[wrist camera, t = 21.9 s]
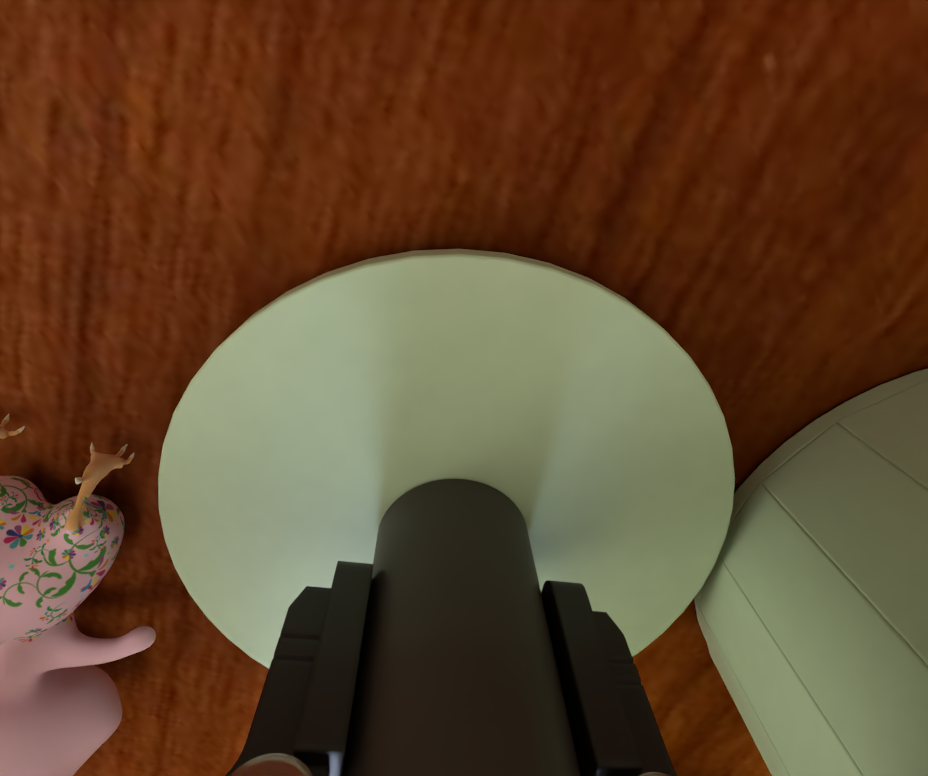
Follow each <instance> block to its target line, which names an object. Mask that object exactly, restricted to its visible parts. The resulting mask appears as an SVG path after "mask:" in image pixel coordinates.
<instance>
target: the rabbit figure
mask: <svg viewBox="0 0 928 776" xmlns="http://www.w3.org/2000/svg"><path fill="white" fill-rule="evenodd" d="M9 419H10V418H9V414H8V415H7V416H6V417H5V418H4V419H3V421H2V423H1V425H0V439H5V438H7V437H8V436H14V435H18V434H20V433H21V432H22V431H23V430H24V428H25V426H23V427H22V428H19V429H17V430H15V431H7V430H5V429H4V428H5V425H6V424H7V423H8V422H9ZM127 445H128V444H126V445H125V446H123V447H122V448H121V449H120V450H119V452H118V453H117V454H116V455H112V454H110V455H109V454H102V453H100V452H96V451H95V448H94V446H93V444H92V443H91V446H90V452H91V454H92V456H91V462H90V463H89V465H87V466H86V469H85V471H84V473H83V476H82V478H81V477H77V478H75V483H76V484H80V483H82V485H81V488H80V491H79V494H78V496H74V497H71V498H68V499H66V500H64V501H62V502H60V503H58V504H56V505H54V504H51V503H49V502H48V501H47V500H46V499H45V498H44V496H43V494H42V493H41V491H40V490H39V489H38V487H37V486H36V485H35V484H33V483H32V482H31V481H29V480H27V479H25V478H22V477H19V476H14V475H0V776H73V775H74V774H75V773H76V772H77V770H78V769H79V768H80V767H81V766H82V765H83V764H84V763H85V762H86V761H87V760H88V759H89V757H90V756H91V755H92V754H93V753H94V752H95V751H96V750H97V749H98V748H99V747H100V746H101V745H102V744H103V743H104V742H105V741H106V740H107V739H108V738H109V737H110V736H111V735H112V734H113V733H114V732H115V730H116V729H117V728H118V726H119V724H120V722H121V719H122V705H121V700H120V697H119V694H118V691H117V689H116V686H115V684H114V682H113V681H112V679H111V678H110V677H109V675H108V674H107V673H106V672H105V671H103V670H102V669H100V668H98V667H96V666H94V665H95V664H102V663H107V662H111V661H115V660H118V659H121V658H124V657H127V656H129V655H132V654H135V653H137V652H140V651H143V650H145V649H146V648H148V647H150V646H151V645H152V644H153V643H154V641H155V638H156V632H155V630H154V629H153V628H151V627H148V626H141V627H137V628H135V629H134V630H132V631H130V632H129V633H127V634H126V635H124V636H122V637H118V638H112V639H101V638H93V637H89V636H86V635H84V634H82V633H81V632H80V631H79V630H78V628H77V626H76V622H75V617H74V610H75V609H76V608H77V607H78V606H79V605H80V604H81V603H82V602H83V601H84V600H85V599H86V598H87V597H88V596H89V595H90V594H91V592H92V591H93V590H94V589H95V588H96V587H97V586H98V584H99V583H100V582H101V580H102V579H103V578H104V576H105V575H106V573H107V572H108V570H109V569H110V567H111V565H112V564H113V562H114V560H115V558H116V555H117V553H118V551H119V548H120V545H121V542H122V539H123V535H124V529H125V524H124V517H123V515H122V513H121V511H120V509H119V508H118V507H117V506H116V504H115V503H113V502H112V501H111V500H109V499H107V498H105V497H103V496H99V495H92V492H93V490H94V489H95V487H96V485H97V484H98V483H99V482H100V480H102V479H103V478H104V477H105V476H106V475H107V474H108V473H109V472H110V471H111V470H113V469H115V468H119V469H120V468H122V467H123V465H126V464H129V463H130V462H131V460H132V459H133V458H134V453H133V454H132V455H131V456H130V457H129V458H128V459H127V460H124V459H123V458H121V457H120V456H121V455H122V454H123V453H124V452H125V450H126V447H127Z"/></svg>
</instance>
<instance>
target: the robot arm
mask: <svg viewBox="0 0 928 776" xmlns="http://www.w3.org/2000/svg"><path fill="white" fill-rule="evenodd" d="M373 565H374V564H368V563H357V562H346V561H338V562H337V566H336V570H335V574H334V578H333V582H332V587H331V588H323V587H311V586H306V587H305V589H304V590H303V591H302V592H301V593H300V594H299V596H298V597H297V598H296V599H295V600H294V601H293V603H292V604H291V605H290V606H289V608H288V611H287V614H286V617H285V621H284V624H283V627H282V630H281V635H280V637H279V640H278V643H277V646H276V649H275V652H274V657H273V659H272V662H271V665H270V668H269V671H268V674H267V678H266V681H265V684H264V687H263V690H262V693H261V697H260V700H259V703H258V706H257V709H256V712H255V715H254V719H253V722H252V725H251V728H250V731H249V734H248V738H247V741H246V744H245V746H244V749H243V751H242V753H241V755H240V757H239V759H238V760H237V762H236V763H235V765H234V766H233V768H232V769H231V770H230V771H229V772H228V773H227V775H226V776H343V769H344V763H345V756H346V749H347V743H348V736H349V729H350V723H351V716H352V709H353V703H354V696H355V689H356V682H357V676H358V669H359V662H360V656H361V649H362V642H363V636H364V629H365V622H366V616H367V609H368V602H369V595H370V589H371V582H372V574H373ZM541 595H542V599H543V604H544V608H545V613H546V617H547V622H548V627H549V631H550V636H551V640H552V645H553V649H554V654H555V658H556V663H557V668H558V672H559V677H560V681H561V686H562V690H563V695H564V699H565V704H566V709H567V713H568V718H569V722H570V727H571V731H572V736H573V740H574V745H575V750H576V754H577V759H578V763H579V768H580V772H581V776H677V775H676V773H675V771H674V768H673V766H672V764H671V761H670V758H669V755H668V753H667V750H666V747H665V745H664V742H663V739H662V736H661V734H660V731H659V728H658V726H657V723H656V720H655V717H654V715H653V712H652V709H651V707H650V704H649V701H648V699H647V696H646V693H645V690H644V688H643V686H641V683H640V681H641V680H640V677H639V674H638V671H637V669H636V666H635V664H633V658H632V655H631V652H630V650H629V647H628V644H627V642H626V639H625V636H624V634H623V633H622V631H621V630H620V629H619V628H618V626H617V625H616V624H615V623H614V621H613V620H612V619H611V617H610V616H609V615H608V614H607V612H599V611H592V608H591V604H590V601H589V598H588V595H587V592H586V589H585V587H584V586H583V584H581V583H572V582H561V581H550V580H547V581H546V582H545V583H544V585H543V588H542V591H541Z"/></svg>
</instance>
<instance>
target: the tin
mask: <svg viewBox="0 0 928 776" xmlns="http://www.w3.org/2000/svg"><path fill="white" fill-rule="evenodd" d="M694 601H695V608H696V614H697V620H698V622H699V625H700V628H701V631H702V633H703V636H704V638H705V640H706V642H707V645H708V649H709V653H710V656H711V658H712V660H713V662H714V664H715V666H716V668H717V670H718V672H719V673H720V675H721V677H722V679H723V681H724V683H725V685H726V687H727V689H728V691H729V693H730V695H731V697H732V699H733V701H734V703H735V705H736V707H737V709H738V711H739V713H740V715H741V716H742V718H743V720H744V722H745V724H746V726H747V728H748V730H749V732H750V734H751V736H752V738H753V740H754V742H755V744H756V746H757V748H758V750H759V752H760V754H761V756H762V758H763V759H764V761H765V763H766V765H767V767H768V769H769V771H770V773H771V775H772V776H928V369H924V370H920V371H916V372H913V373H911V374H908V375H905V376H903V377H900V378H897V379H895V380H892V381H889V382H887V383H884V384H881V385H879V386H877V387H875V388H873V389H871V390H869V391H867V392H864V393H862V394H860V395H858V396H856V397H854V398H852V399H850V400H848V401H846V402H844V403H842V404H841V405H839V406H838V407H836V408H834V409H833V410H831V411H829V412H828V413H826V414H824V415H823V416H821V417H819V418H818V419H816V420H814V421H813V422H811V423H810V424H809V425H807V426H806V427H805V428H803V429H802V430H801V431H799V432H798V433H797V434H795V435H794V436H792V437H791V438H790V439H788V440H787V441H786V442H784V443H783V444H782V445H781V446H780V447H779V448H778V449H777V450H775V451H774V452H773V453H772V454H771V455H770V456H769V457H768V458H767V459H765V460H764V461H763V462H762V463H761V464H760V465H759V466H758V467H757V468H756V469H755V470H754V471H753V473H752V474H751V475H750V476H749V477H748V478H747V479H746V480H745V481H744V482H743V484H742V485H741V486H740V487H739V488H738V489H737V491H736V492H735V493H734V499H733V510H732V514H731V518H730V522H729V527H728V531H727V535H726V538H725V541H724V543H723V546H722V548H721V551H720V553H719V556H718V558H717V561H716V563H715V565H714V567H713V569H712V570H711V572H710V574H709V576H708V577H707V579H706V581H705V583H704V584H703V586H702V588H701V589H700V591H699V592H698V593H697V595H696V596H695V597H694Z"/></svg>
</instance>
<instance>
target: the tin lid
mask: <svg viewBox="0 0 928 776" xmlns="http://www.w3.org/2000/svg"><path fill="white" fill-rule="evenodd" d="M734 486H735V473H734V462H733V451H732V445H731V441H730V437H729V433H728V430H727V426H726V422H725V418H724V415H723V413H722V411H721V409H720V406H719V404H718V402H717V400H716V398H715V395H714V393H713V391H712V389H711V387H710V385H709V383H708V382H707V380H706V379H705V378H704V376H703V375H702V373H701V372H700V370H699V369H698V367H697V366H696V364H695V363H694V361H693V360H692V358H691V357H690V356H689V355H688V354H687V352H686V351H685V350H684V349H683V348H682V347H681V346H680V345H679V344H678V343H677V342H676V341H675V340H674V339H673V338H672V337H671V336H670V335H669V334H668V333H667V331H666V330H665V329H664V328H663V327H661V326H660V325H659V324H658V323H657V322H656V321H654V320H653V319H652V318H650V317H649V316H648V315H647V314H645V313H644V312H643V311H641V310H640V309H639V308H637V307H636V306H635V305H634V304H632V303H631V302H630V301H628V300H627V299H626V298H624V297H622V296H621V295H619V294H617V293H615V292H613V291H612V290H610V289H608V288H606V287H604V286H603V285H601V284H599V283H597V282H595V281H594V280H592V279H590V278H588V277H585V276H583V275H580V274H577V273H575V272H572V271H569V270H567V269H564V268H561V267H559V266H556V265H554V264H551V263H548V262H544V261H539V260H535V259H531V258H526V257H522V256H517V255H513V254H509V253H503V252H492V251H481V250H470V249H439V250H416V251H409V252H403V253H398V254H392V255H386V256H381V257H375V258H370V259H366V260H363V261H360V262H357V263H354V264H351V265H347V266H344V267H341V268H338V269H335V270H332V271H329V272H326V273H324V274H322V275H320V276H318V277H316V278H313V279H311V280H309V281H307V282H305V283H303V284H301V285H299V286H297V287H295V288H293V289H291V290H289V291H287V292H285V293H284V294H282V295H281V296H279V297H278V298H276V299H275V300H273V301H272V302H270V303H269V304H268V305H266V306H265V307H263V308H262V309H260V310H259V311H257V312H256V313H254V314H253V315H252V316H251V317H249V318H248V319H247V320H246V321H245V322H244V323H243V324H242V325H241V326H240V327H239V328H238V329H236V330H235V331H234V332H233V333H232V334H231V335H230V336H229V337H228V338H227V339H226V340H225V341H224V342H222V343H221V344H220V345H219V346H218V347H217V348H216V349H215V350H214V352H213V353H212V354H211V355H210V357H209V358H208V359H207V361H206V362H205V363H204V364H203V366H202V367H201V368H200V369H199V371H198V372H197V373H196V375H195V376H194V377H193V378H192V380H191V381H190V383H189V385H188V387H187V389H186V391H185V392H184V394H183V396H182V398H181V400H180V402H179V403H178V405H177V407H176V409H175V411H174V413H173V416H172V419H171V422H170V425H169V428H168V431H167V434H166V437H165V440H164V443H163V447H162V454H161V461H160V467H159V474H158V503H159V514H160V519H161V524H162V529H163V535H164V540H165V542H166V545H167V548H168V551H169V553H170V556H171V559H172V561H173V564H174V567H175V569H176V571H177V573H178V574H179V576H180V578H181V580H182V582H183V583H184V585H185V587H186V589H187V591H188V592H189V594H190V596H191V597H192V598H193V600H194V601H195V602H196V604H197V605H198V606H199V608H200V609H201V610H202V611H203V613H204V614H205V615H206V617H207V618H208V619H209V620H210V621H211V622H212V623H213V624H214V625H215V626H216V627H217V628H218V629H219V630H220V631H221V632H222V633H223V634H224V635H225V636H226V637H227V638H228V639H229V640H230V641H231V642H232V643H234V644H235V645H236V646H237V647H239V648H240V649H241V650H242V651H244V652H245V653H246V654H247V655H249V656H250V657H251V658H253V659H254V660H256V661H257V662H259V663H261V664H262V665H264V666H265V667H267V668H268V669H269V668H270V665H271V662H272V659H273V657H274V652H275V649H276V646H277V643H278V640H279V637H280V635H281V630H282V627H283V624H284V621H285V617H286V614H287V611H288V608H289V606H290V605H291V604H292V603H293V601H294V600H295V599H296V598H297V597H298V596H299V594H300V593H301V592H302V591H303V590H304V589H305V587H306V586H311V587H323V588H331V587H332V582H333V578H334V574H335V570H336V566H337V562H338V561H346V562H357V563H368V564H374V565H373V574H372V582H371V589H370V595H369V602H368V609H367V616H366V622H365V629H364V636H363V642H362V649H361V656H360V662H359V669H358V676H357V682H356V689H355V696H354V703H353V709H352V716H351V723H350V729H349V736H348V743H347V749H346V756H345V763H344V769H343V776H581V772H580V768H579V763H578V759H577V754H576V750H575V745H574V740H573V736H572V731H571V727H570V722H569V718H568V713H567V709H566V704H565V699H564V695H563V690H562V686H561V681H560V677H559V672H558V668H557V663H556V658H555V654H554V649H553V645H552V640H551V636H550V631H549V627H548V622H547V617H546V613H545V608H544V604H543V599H542V595H541V591H542V588H543V585H544V583H545V582H546V581H547V580H550V581H561V582H572V583H581V584H583V586H584V587H585V589H586V592H587V595H588V598H589V601H590V604H591V608H592V611H599V612H607V614H608V615H609V616H610V617H611V619H612V620H613V621H614V623H615V624H616V625H617V626H618V628H619V629H620V630H621V631H622V633H623V634H624V636H625V639H626V642H627V644H628V647H629V650H630V652H631V655H632V657H633V656H635V655H636V654H638V653H639V652H641V651H642V650H643V649H644V648H645V647H647V646H648V645H649V644H650V643H652V642H653V641H654V640H655V639H656V638H658V637H659V636H660V635H661V634H662V633H664V631H665V630H666V629H667V628H668V627H669V626H670V625H671V624H672V623H673V622H674V621H675V620H676V619H677V618H678V617H679V616H680V615H681V614H682V613H683V612H684V610H685V609H686V608H687V607H688V605H689V604H690V603H691V601H692V600H693V599H694V597H695V596H696V595H697V593H698V592H699V591H700V589H701V588H702V586H703V584H704V583H705V581H706V579H707V577H708V576H709V574H710V572H711V570H712V569H713V567H714V565H715V563H716V561H717V558H718V556H719V553H720V551H721V548H722V546H723V543H724V541H725V538H726V535H727V531H728V527H729V522H730V518H731V514H732V510H733V499H734Z"/></svg>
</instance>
